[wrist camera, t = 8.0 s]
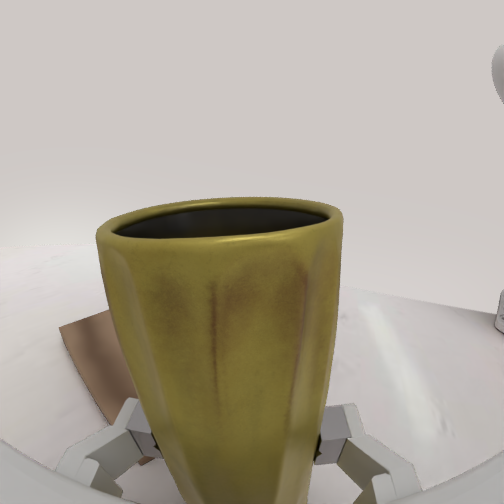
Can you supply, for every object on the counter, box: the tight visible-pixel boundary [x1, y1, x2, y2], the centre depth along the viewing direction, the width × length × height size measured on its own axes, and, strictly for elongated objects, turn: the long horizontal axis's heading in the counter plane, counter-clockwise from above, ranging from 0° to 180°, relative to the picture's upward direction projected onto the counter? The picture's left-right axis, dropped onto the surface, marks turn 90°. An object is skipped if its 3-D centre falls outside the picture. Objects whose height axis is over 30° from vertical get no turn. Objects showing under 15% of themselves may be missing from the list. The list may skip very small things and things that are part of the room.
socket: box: [59, 310, 155, 465], centre depth 28 cm, size 21×21×2 cm
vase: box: [96, 197, 343, 504], centre depth 8 cm, size 6×6×14 cm
